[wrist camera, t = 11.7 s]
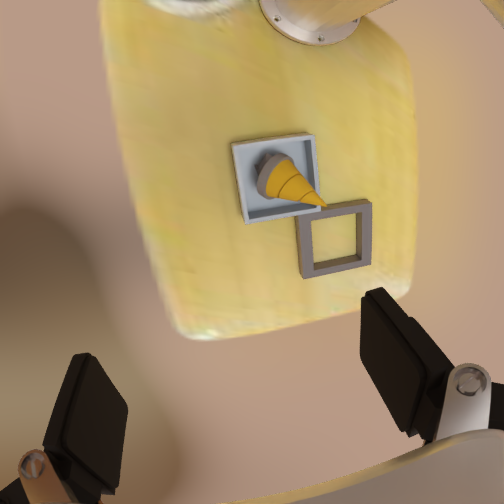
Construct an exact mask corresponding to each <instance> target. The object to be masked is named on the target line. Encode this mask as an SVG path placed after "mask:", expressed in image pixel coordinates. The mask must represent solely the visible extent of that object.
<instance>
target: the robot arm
mask: <svg viewBox="0 0 504 504" xmlns="http://www.w3.org/2000/svg"><path fill="white" fill-rule="evenodd" d="M394 1H396V0H259V2H260V7H261V9H262V11H263V14H264V15H265V17H266V18H267V20H268V21H269V23H270V24H271V25H272V26H273V27H274V28H275V29H276V30H278V31H279V32H280V33H282V34H283V35H284V36H286V37H288V38H290V39H292V40H294V41H297V42H299V43H302V44H307V45H312V46H324V45H331V44H334V43H337V42H340V41H342V40H344V39H346V38H347V37H348V36H350V35H351V34H352V33H353V32H354V31H355V29H356V28H357V26H358V25H359V23H360V19H361V16H364V15H366V14H368V13H370V12H372V11H374V10H376V9H378V8H381V7H383V6H385V5H387V4H390V3H392V2H394ZM480 1H481V2H482V3H483V4H484V6H485V7H486V8H487V9H488V10H489V12H490V13H491V14H492V15H493V16H494V18H495V19H496V20H497V21H498V22H499V23H500V25H501V26H502V27H503V28H504V0H480ZM274 19H277V20H278V21H277V22H276V21H275V20H274ZM352 21H353V22H352ZM317 38H319V39H320V41H319V40H318V39H317ZM360 358H361V361H362V363H363V365H364V367H365V368H366V370H367V372H368V374H369V375H370V377H371V379H372V381H373V383H374V384H375V386H376V388H377V390H378V391H379V393H380V395H381V397H382V399H383V401H384V402H385V404H386V406H387V408H388V410H389V411H390V413H391V415H392V417H393V419H394V421H395V423H396V424H397V426H398V428H399V430H400V431H401V432H404V431H405V432H406V433H407V435H408V437H409V438H410V437H412V436H414V435H416V434H418V433H419V435H420V437H421V438H422V439H424V441H423V445H422V447H420V448H418V449H415V450H413V451H410V452H408V453H406V454H403V455H401V456H399V457H396V458H393V459H391V460H388V461H386V462H383V463H381V464H378V465H375V466H373V467H370V468H367V469H364V470H361V471H358V472H355V473H352V474H350V475H346V476H343V477H340V478H337V479H334V480H331V481H327V482H324V483H320V484H316V485H313V486H309V487H305V488H301V489H297V490H293V491H289V492H284V493H279V494H274V495H270V496H264V497H259V498H253V499H247V500H240V501H234V502H226V503H218V504H504V384H499V383H494V382H491V378H490V376H489V374H488V372H487V371H486V370H485V369H484V368H483V367H481V366H479V365H476V364H472V363H465V364H462V365H458V366H457V367H454V365H453V364H452V363H451V362H450V360H449V359H448V358H447V357H446V355H445V354H444V353H443V352H442V351H441V349H440V348H439V347H438V346H437V345H436V343H435V342H434V341H433V340H432V338H431V337H430V336H429V335H428V334H427V333H426V331H425V330H424V329H423V328H422V327H421V325H420V324H419V323H418V322H417V321H416V320H415V319H414V318H413V317H408V315H407V314H406V313H405V312H404V311H403V310H402V308H401V307H400V306H399V305H398V304H397V303H396V302H395V300H394V299H393V298H392V297H391V296H390V295H389V294H388V292H387V291H386V290H385V289H384V288H383V287H379V288H376V289H373V290H369V291H367V292H366V293H365V296H364V297H362V298H361V331H360ZM127 415H128V407H127V404H126V402H125V400H124V399H123V398H122V396H121V395H120V393H119V392H118V390H117V389H116V388H115V386H114V385H113V383H112V382H111V380H110V379H109V377H108V376H107V374H106V373H105V371H104V369H103V368H102V366H101V365H100V363H99V362H98V360H97V358H96V357H94V356H92V355H91V354H90V353H81V354H75V355H74V356H73V357H72V360H71V362H70V365H69V367H68V370H67V373H66V375H65V378H64V381H63V383H62V386H61V389H60V392H59V394H58V397H57V400H56V403H55V406H54V409H53V412H52V415H51V418H50V421H49V424H48V427H47V430H46V434H45V437H44V441H43V444H42V445H43V446H44V447H45V448H44V452H43V451H42V450H38V449H33V450H30V451H28V452H26V453H25V454H24V455H23V456H22V458H21V459H20V461H19V464H18V474H19V478H17V479H16V480H15V481H13V482H12V483H11V484H9V485H8V486H7V487H5V488H4V489H3V490H1V491H0V504H104V503H103V502H102V501H101V499H100V498H101V494H106V495H115V488H117V487H118V486H119V479H120V469H121V460H122V452H123V444H124V436H125V428H126V422H127Z"/></svg>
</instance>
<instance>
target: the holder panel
mask: <svg viewBox="0 0 504 504" xmlns="http://www.w3.org/2000/svg"><path fill="white" fill-rule="evenodd" d="M353 213H356V255H353V256H348V257H343V258H338V259H334V260H329V261H324V262H319V263H314V264H313V247H312V232H311V221H312V220H318V219H324V218H330V217H335V216H341V215H347V214H353ZM295 223H296V234H297V245H298V256H299V269H300V274H301V276H302V278H303V279H308V278H312V277H317V276H322V275H326V274H331V273H335V272H340V271H345V270H349V269H353V268H358V267H362V266H367V265H371V252H372V203H371V202H370V201H368V200H366V199H363V200H356V201H350V202H344V203H337V204H331V205H327V207H323V206H321V211H319V212H314V213H308V214H302V215H296V216H295Z"/></svg>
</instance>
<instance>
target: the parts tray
mask: <svg viewBox="0 0 504 504" xmlns="http://www.w3.org/2000/svg"><path fill="white" fill-rule="evenodd" d="M231 149H232V156H233V162H234V168H235V174H236V180H237V187H238V193H239V199H240V205H241V211H242V217H243V219H244V222H245V225H246V224H251V223H257V222H262V221H268V220H273V219H279V218H285V217H290V216H296V215H302V214H308V213H314V212H319V211H321V206H320V205H319V206H318V205H312V204H307V203H302V202H300V201H298V202H296V201H291V200H285V199H280V198H274V199H272V200H268V199H266V198H264V197H263V196H261V195H260V194H259V193H258V191H257V181H258V178H259V177H258V174H257V171H256V169H255V166H254V164H256V165H259V163H260V162H261V160H262V158H263V157H264V155H265V154H266V153H268V154H270V155H272V156H274V155H276V154H278V153H284V154H286V155H288V156H289V157H291V158H292V159H293V160H294V166H295V167H296V168H297V169H298V170H299V172H300V173H301V174H302V175H303V177H304V178H305V179H306V180H307V181H308V183H309V184H310V185H311V186H312V188H313V189H314V190H315V191H316V193H317V194H318V195H319V196H320V189H319V176H318V165H317V154H316V144H315V135H313V134H309V133H299V134H291V135H282V136H275V137H267V138H260V139H254V140H247V141H241V142H235V143H231Z"/></svg>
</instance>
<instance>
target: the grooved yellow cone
mask: <svg viewBox="0 0 504 504" xmlns="http://www.w3.org/2000/svg"><path fill="white" fill-rule="evenodd" d="M254 166H255V169H256V171H257V174H258V177H259V178H258V181H257V191H258V193H259V194H260V195H261V196H263V197H264V198H266V199H268V200H272V199H274V198H280V199H285V200H291V201H296V202H298V201H300V202H302V203H307V204H312V205H318V206H319V205H320V206H323V207H327V205H326V204H325V203H324V201H323V200H322V199H321V198H320V196H319V195H318V194H317V193H316V191H315V190H314V189H313V188H312V186H311V185H310V184H309V183H308V181H307V180H306V179H305V178H304V177H303V175H302V174H301V173H300V172H299V170H298V169H297V168H296V167H295V166H294V160H293V159H292V158H291V157H289V156H288V155H286V154H284V153H278V154H276V155H274V156H272V155H270V154H268V153H266V154H265V155H264V157H263V158H262V160H261V162H260V163H259V165H256V164H254Z"/></svg>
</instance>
